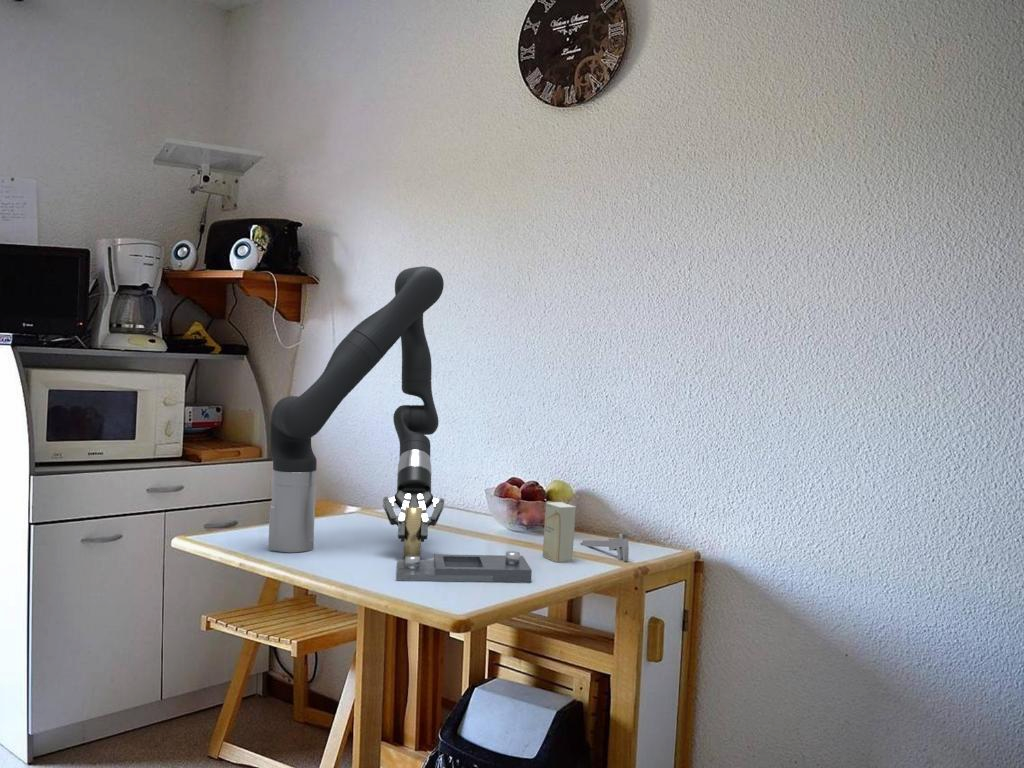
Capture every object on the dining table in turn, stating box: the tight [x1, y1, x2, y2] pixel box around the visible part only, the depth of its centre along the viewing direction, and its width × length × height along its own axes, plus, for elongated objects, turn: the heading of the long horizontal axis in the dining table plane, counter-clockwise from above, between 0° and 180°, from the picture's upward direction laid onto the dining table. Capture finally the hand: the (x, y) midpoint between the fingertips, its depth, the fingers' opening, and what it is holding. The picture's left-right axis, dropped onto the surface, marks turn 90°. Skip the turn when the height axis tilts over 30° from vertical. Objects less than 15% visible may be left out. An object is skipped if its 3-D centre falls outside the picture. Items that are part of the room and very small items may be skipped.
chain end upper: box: [433, 550, 533, 583], centre depth 178 cm, size 18×13×4 cm
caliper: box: [580, 533, 630, 562], centre depth 205 cm, size 20×1×6 cm, turn 24°
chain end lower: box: [396, 555, 494, 583], centre depth 177 cm, size 18×13×3 cm
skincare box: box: [542, 501, 577, 563], centre depth 195 cm, size 6×4×12 cm
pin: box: [402, 506, 422, 560], centre depth 189 cm, size 4×4×11 cm
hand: (412, 539), depth 187 cm, fingers closed on pin, 3 cm apart
